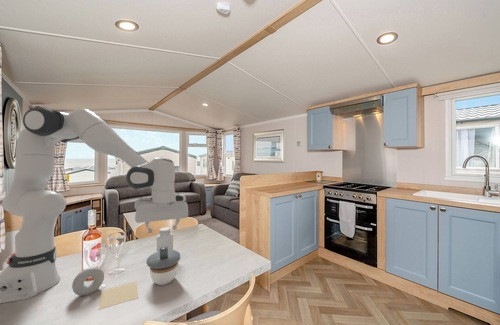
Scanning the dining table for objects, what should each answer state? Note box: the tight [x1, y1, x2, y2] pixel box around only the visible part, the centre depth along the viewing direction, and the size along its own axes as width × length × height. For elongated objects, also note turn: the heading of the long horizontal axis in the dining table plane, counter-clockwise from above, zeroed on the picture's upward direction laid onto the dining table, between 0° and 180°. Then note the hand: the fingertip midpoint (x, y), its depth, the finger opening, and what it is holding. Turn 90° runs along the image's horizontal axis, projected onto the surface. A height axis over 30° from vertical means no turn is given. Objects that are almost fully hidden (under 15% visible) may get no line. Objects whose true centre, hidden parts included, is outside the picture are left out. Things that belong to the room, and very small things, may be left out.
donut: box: [71, 266, 105, 297], centre depth 82 cm, size 10×4×10 cm, turn 141°
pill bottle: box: [156, 226, 174, 252], centre depth 111 cm, size 8×8×15 cm
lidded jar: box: [149, 261, 179, 286], centre depth 90 cm, size 11×11×9 cm
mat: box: [98, 281, 139, 310], centre depth 81 cm, size 12×12×1 cm
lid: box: [146, 246, 181, 269], centre depth 89 cm, size 13×13×5 cm
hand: (162, 230), depth 88 cm, fingers open, 8 cm apart
